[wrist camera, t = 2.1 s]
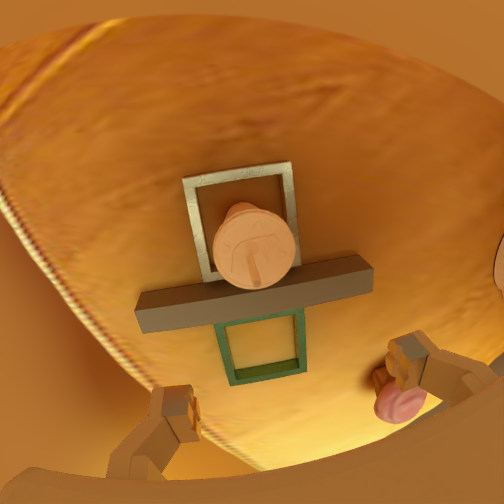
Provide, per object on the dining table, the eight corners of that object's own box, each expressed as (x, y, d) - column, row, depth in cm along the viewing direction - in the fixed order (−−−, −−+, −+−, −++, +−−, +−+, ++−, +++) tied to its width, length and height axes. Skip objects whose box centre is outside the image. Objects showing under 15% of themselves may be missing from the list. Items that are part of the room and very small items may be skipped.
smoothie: (200, 216, 31) (191, 274, 19) (247, 176, 31) (273, 207, 18) (239, 259, 34) (256, 336, 21) (285, 222, 33) (331, 280, 20)
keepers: (286, 160, 30) (291, 161, 29) (303, 362, 41) (307, 371, 39) (184, 176, 30) (182, 179, 28) (229, 376, 40) (230, 386, 38)
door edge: (358, 254, 35) (373, 268, 32) (358, 276, 37) (372, 291, 33) (141, 292, 34) (134, 311, 30) (148, 314, 35) (142, 333, 31)
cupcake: (407, 344, 43) (439, 384, 33) (405, 377, 46) (431, 416, 37) (358, 366, 43) (384, 412, 33) (361, 398, 46) (383, 440, 37)
